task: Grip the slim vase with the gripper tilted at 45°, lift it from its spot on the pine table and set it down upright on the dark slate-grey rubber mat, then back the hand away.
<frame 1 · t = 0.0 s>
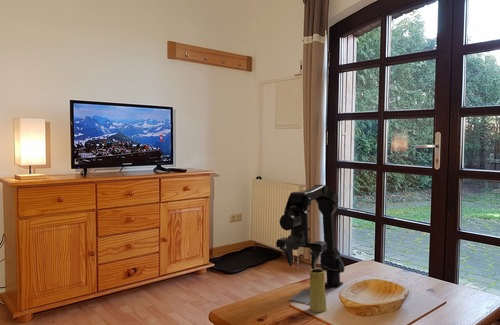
hand: (301, 267, 148), 15 cm above the table, tool pointing down, fingers open, 9 cm apart
mat: (308, 297, 158), on the table
vase: (318, 309, 145), on the table
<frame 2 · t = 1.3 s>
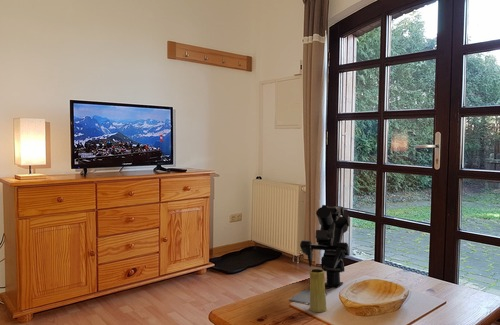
hand: (321, 267, 152), 13 cm above the table, tool tilted 45°, fingers open, 9 cm apart
nothing on the table moved.
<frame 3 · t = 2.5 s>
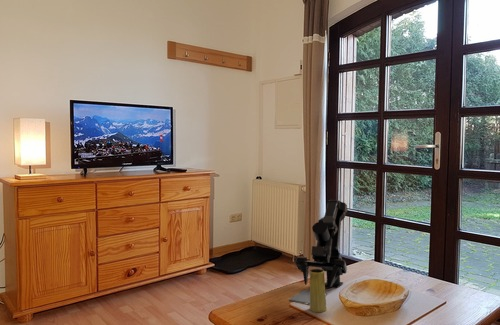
hand: (317, 285, 146), 9 cm above the table, tool tilted 45°, fingers open, 9 cm apart
nothing on the table moved.
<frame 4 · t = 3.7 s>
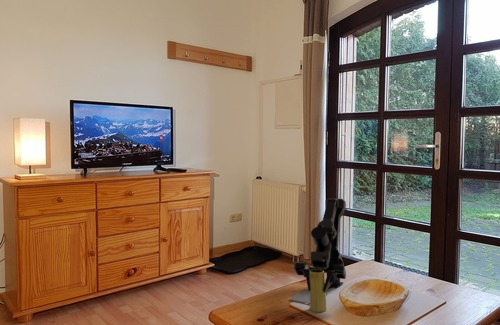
hand: (316, 291, 144), 7 cm above the table, tool tilted 45°, fingers closed on vase, 5 cm apart
vase: (318, 309, 145), on the table, touching gripper
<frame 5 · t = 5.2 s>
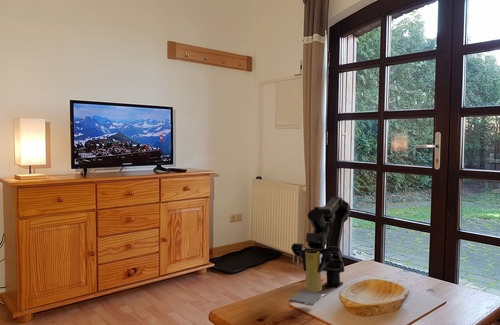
hand: (311, 271, 148), 13 cm above the table, tool tilted 45°, fingers closed on vase, 5 cm apart
vase: (313, 289, 149), point 6 cm above the table, touching gripper
when the fingers open (9 cm above the table, at t = 7.1 s): vase drops 1 cm, resting on mat.
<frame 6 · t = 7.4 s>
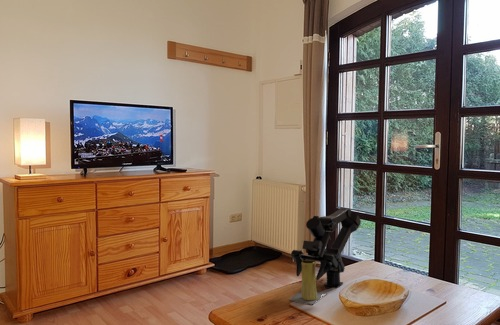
hand: (306, 277, 154), 9 cm above the table, tool tilted 45°, fingers open, 8 cm apart
vase: (309, 298, 155), resting on mat
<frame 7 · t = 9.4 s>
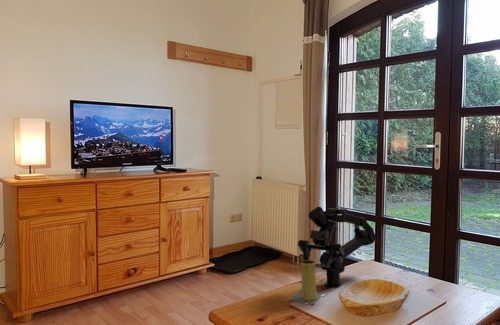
hand: (314, 266, 159), 12 cm above the table, tool tilted 45°, fingers open, 9 cm apart
nothing on the table moved.
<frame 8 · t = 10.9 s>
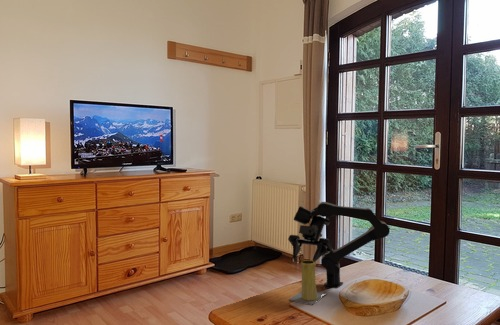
hand: (303, 260, 162), 14 cm above the table, tool tilted 45°, fingers open, 9 cm apart
nothing on the table moved.
at the end: vase inside the target area on the mat (1.4 cm from its centre), point 0.3 cm above the mat's base; vase tilted 0°; the gripper is holding nothing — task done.
